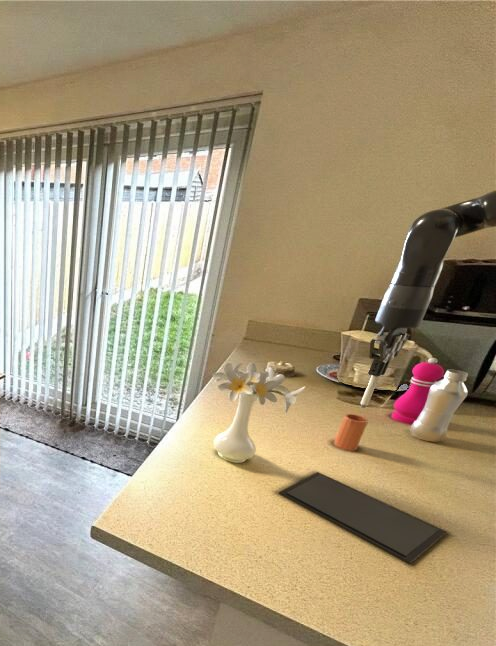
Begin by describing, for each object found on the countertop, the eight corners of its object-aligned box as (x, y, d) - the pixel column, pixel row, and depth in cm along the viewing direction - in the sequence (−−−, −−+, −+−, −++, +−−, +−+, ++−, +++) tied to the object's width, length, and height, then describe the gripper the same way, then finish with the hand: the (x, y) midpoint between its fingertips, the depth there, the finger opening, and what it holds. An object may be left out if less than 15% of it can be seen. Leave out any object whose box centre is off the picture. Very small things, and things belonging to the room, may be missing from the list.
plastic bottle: (419, 431, 112) (451, 366, 104) (448, 443, 106) (484, 375, 98) (400, 433, 111) (431, 368, 103) (429, 446, 105) (464, 377, 97)
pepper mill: (428, 428, 113) (460, 363, 106) (396, 424, 116) (425, 360, 108) (413, 417, 120) (442, 355, 112) (383, 413, 122) (410, 352, 114)
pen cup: (359, 449, 104) (372, 419, 101) (350, 453, 102) (362, 423, 99) (338, 441, 108) (350, 412, 105) (329, 445, 106) (341, 416, 103)
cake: (298, 380, 149) (303, 367, 146) (268, 378, 151) (272, 365, 149) (288, 368, 157) (292, 356, 154) (260, 367, 160) (263, 355, 157)
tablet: (445, 534, 77) (447, 530, 76) (408, 565, 70) (410, 561, 70) (316, 474, 95) (317, 471, 94) (277, 494, 88) (279, 491, 88)
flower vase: (278, 481, 93) (311, 385, 83) (192, 458, 102) (212, 369, 92) (275, 454, 103) (305, 366, 93) (197, 436, 112) (216, 353, 102)
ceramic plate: (369, 399, 131) (372, 391, 130) (298, 372, 154) (300, 365, 153) (428, 392, 136) (432, 384, 134) (350, 366, 159) (353, 359, 158)
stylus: (367, 407, 99) (388, 355, 94) (364, 408, 99) (386, 356, 93) (360, 405, 100) (381, 354, 95) (358, 406, 100) (378, 355, 94)
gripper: (412, 311, 83) (382, 385, 90) (440, 303, 89) (409, 374, 96) (368, 304, 90) (343, 374, 96) (396, 298, 95) (370, 365, 102)
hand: (376, 374), depth 96 cm, fingers closed on stylus, 1 cm apart
